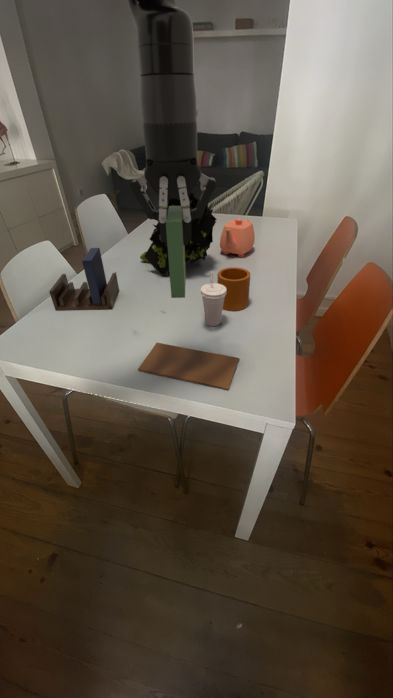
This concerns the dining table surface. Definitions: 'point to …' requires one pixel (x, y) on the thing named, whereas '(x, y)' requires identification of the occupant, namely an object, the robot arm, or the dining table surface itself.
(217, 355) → the brown wooden board
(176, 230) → the green book
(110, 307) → the book rack
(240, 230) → the teapot
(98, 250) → the navy book
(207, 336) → the dining table surface
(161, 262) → the potted plant
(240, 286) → the mug
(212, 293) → the smoothie
